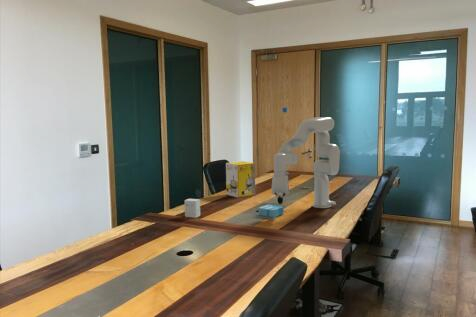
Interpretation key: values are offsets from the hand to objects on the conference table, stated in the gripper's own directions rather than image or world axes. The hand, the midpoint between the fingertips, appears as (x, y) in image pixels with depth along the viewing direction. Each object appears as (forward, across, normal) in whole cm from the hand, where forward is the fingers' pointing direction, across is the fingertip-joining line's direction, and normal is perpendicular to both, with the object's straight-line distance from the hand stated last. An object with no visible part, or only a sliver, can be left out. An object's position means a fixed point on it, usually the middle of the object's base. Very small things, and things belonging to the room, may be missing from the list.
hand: (280, 203), depth 242 cm
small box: (+8, +52, +14) cm, 55 cm away
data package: (+6, +1, -1) cm, 6 cm away
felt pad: (+8, +9, 0) cm, 12 cm away
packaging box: (+8, +44, -57) cm, 73 cm away
